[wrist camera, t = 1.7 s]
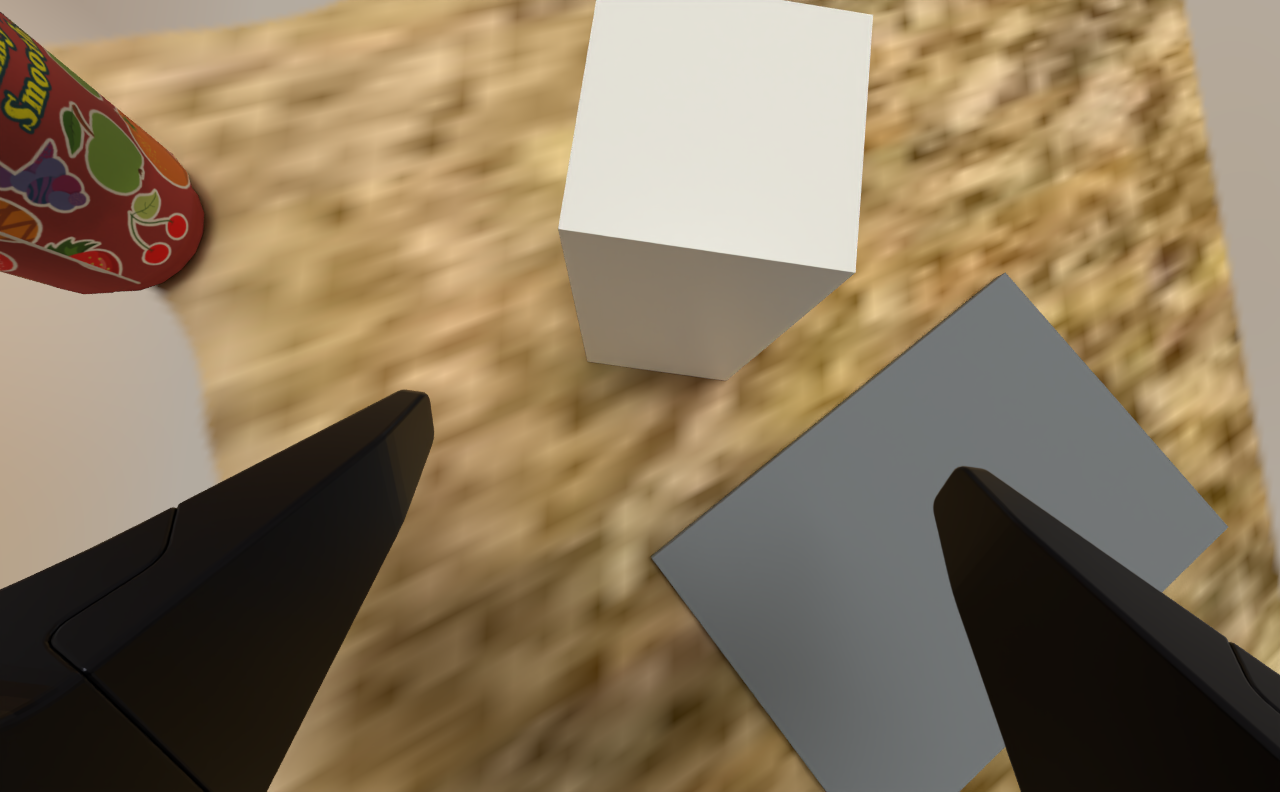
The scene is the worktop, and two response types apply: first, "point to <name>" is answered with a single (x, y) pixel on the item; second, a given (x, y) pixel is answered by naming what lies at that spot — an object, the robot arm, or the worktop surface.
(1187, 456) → the worktop surface
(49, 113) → the smoothie
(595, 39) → the white rectangular block
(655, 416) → the worktop surface
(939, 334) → the mat
